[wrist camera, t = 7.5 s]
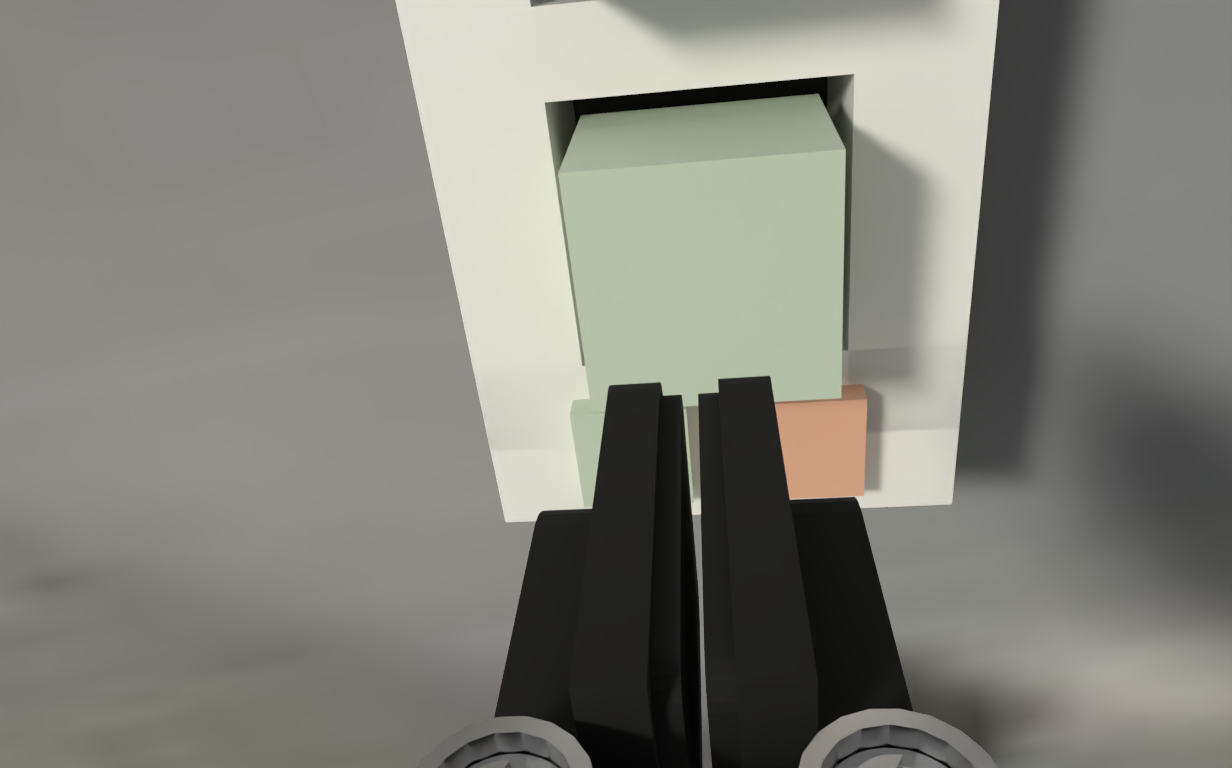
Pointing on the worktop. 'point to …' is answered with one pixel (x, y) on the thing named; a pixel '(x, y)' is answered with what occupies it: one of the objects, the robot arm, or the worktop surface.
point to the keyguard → (700, 58)
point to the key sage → (709, 246)
